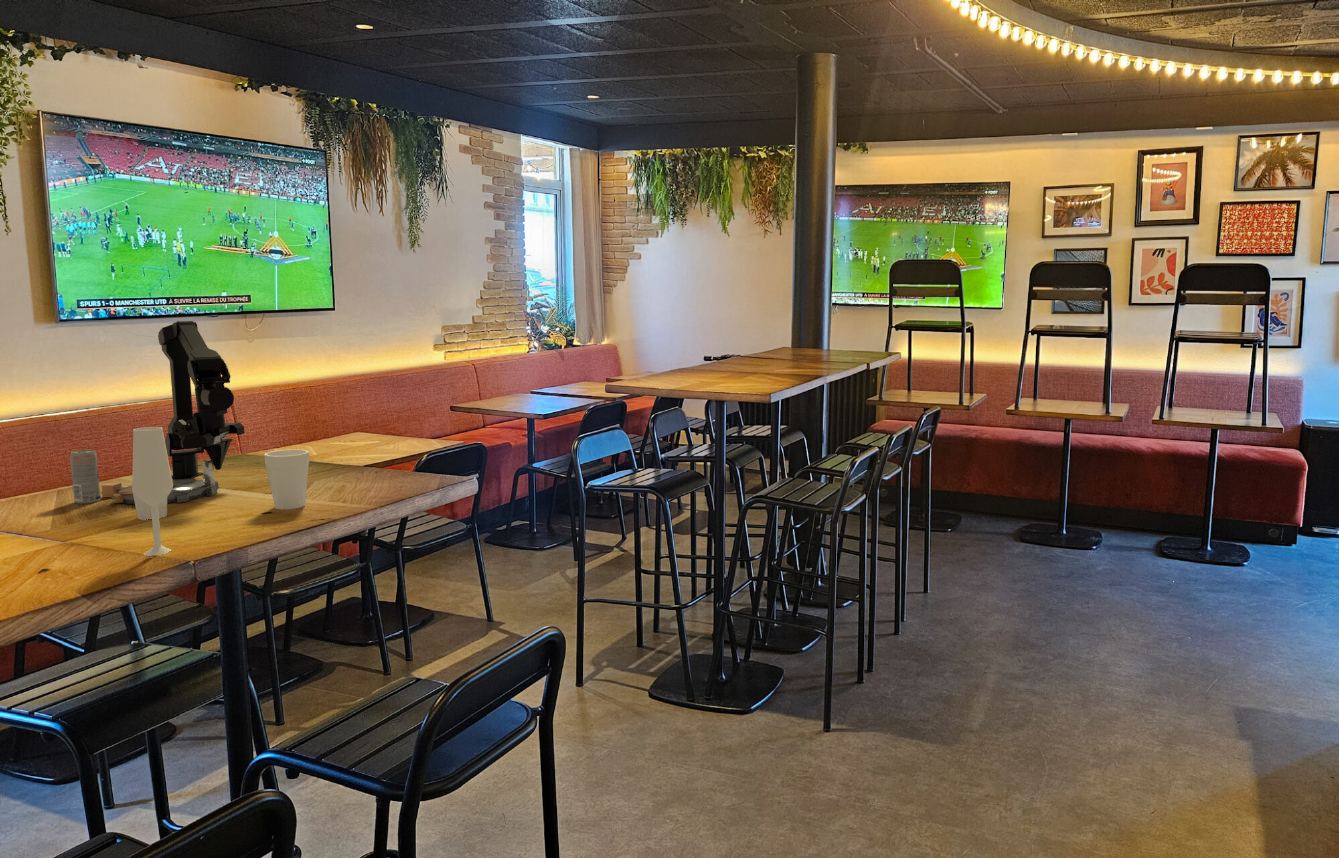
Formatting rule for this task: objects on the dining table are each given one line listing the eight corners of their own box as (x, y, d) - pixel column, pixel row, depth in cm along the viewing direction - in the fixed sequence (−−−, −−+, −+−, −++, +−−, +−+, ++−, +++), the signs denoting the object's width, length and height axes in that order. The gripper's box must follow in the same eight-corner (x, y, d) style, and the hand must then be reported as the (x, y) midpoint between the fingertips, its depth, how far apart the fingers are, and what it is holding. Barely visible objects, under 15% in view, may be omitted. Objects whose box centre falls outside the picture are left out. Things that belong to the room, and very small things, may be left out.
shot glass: (176, 515, 214) (174, 484, 213) (157, 522, 208) (154, 490, 207) (147, 514, 215) (145, 483, 214) (127, 521, 208) (124, 489, 207)
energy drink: (97, 498, 232) (92, 448, 231) (103, 501, 228) (99, 451, 227) (71, 501, 229) (66, 451, 227) (77, 505, 225) (72, 454, 223)
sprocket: (164, 484, 247) (161, 453, 246) (240, 488, 241) (237, 456, 240) (88, 503, 225) (85, 469, 224) (170, 508, 219) (167, 473, 218)
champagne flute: (151, 550, 185) (140, 426, 181) (185, 550, 184) (175, 426, 181) (130, 560, 178) (119, 431, 175) (166, 560, 178) (155, 431, 174)
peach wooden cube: (110, 494, 236) (109, 482, 235) (122, 495, 236) (121, 483, 235) (102, 497, 233) (101, 485, 232) (114, 497, 233) (113, 485, 232)
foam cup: (260, 509, 219) (257, 453, 217) (300, 503, 225) (296, 448, 224) (280, 516, 212) (276, 458, 210) (320, 509, 219) (316, 452, 217)
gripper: (199, 401, 244) (207, 462, 247) (155, 414, 226) (164, 479, 228) (241, 400, 243) (249, 461, 246) (201, 412, 225) (209, 478, 228)
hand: (218, 469), depth 237 cm, fingers closed
